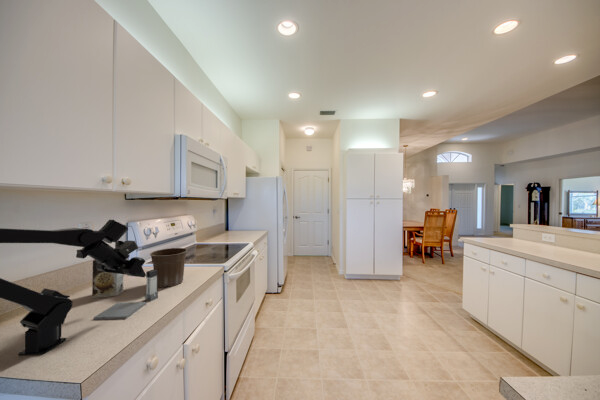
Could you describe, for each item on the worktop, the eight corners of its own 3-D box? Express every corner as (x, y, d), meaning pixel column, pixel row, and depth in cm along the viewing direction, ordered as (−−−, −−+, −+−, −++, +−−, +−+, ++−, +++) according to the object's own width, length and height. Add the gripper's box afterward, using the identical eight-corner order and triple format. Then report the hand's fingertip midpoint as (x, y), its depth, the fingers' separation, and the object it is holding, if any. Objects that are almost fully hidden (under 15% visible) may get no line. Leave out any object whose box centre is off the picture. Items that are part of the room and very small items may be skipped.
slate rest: (126, 318, 78) (126, 316, 78) (93, 319, 77) (93, 317, 77) (146, 303, 89) (146, 301, 89) (117, 304, 88) (117, 302, 88)
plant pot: (168, 291, 101) (168, 256, 101) (141, 287, 105) (141, 254, 105) (194, 279, 117) (194, 248, 117) (169, 276, 121) (169, 247, 121)
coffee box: (91, 298, 93) (91, 260, 93) (100, 292, 99) (100, 256, 100) (116, 296, 96) (116, 259, 96) (124, 290, 102) (124, 255, 102)
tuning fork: (151, 301, 91) (151, 272, 91) (145, 300, 92) (145, 271, 92) (158, 298, 94) (158, 270, 94) (152, 296, 95) (152, 269, 95)
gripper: (140, 236, 79) (167, 258, 90) (105, 233, 85) (134, 255, 95) (115, 264, 72) (148, 285, 82) (79, 259, 77) (114, 279, 88)
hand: (136, 274), depth 87 cm, fingers open, 9 cm apart
